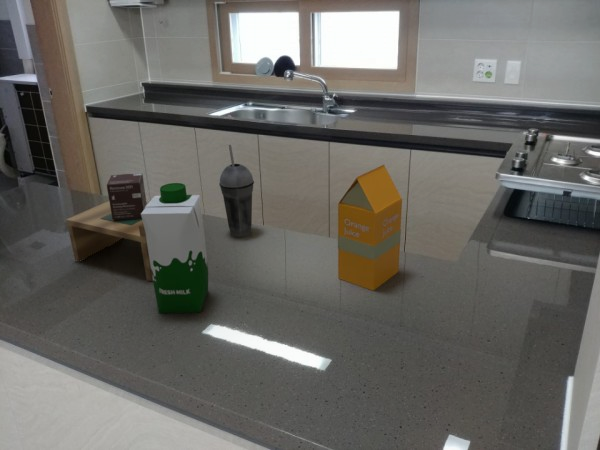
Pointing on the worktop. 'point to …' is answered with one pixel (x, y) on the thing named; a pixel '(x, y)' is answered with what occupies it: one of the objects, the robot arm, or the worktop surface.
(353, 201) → the orange juice
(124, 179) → the box
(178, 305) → the milk carton
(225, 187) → the beverage cup
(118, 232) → the shelf
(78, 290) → the worktop surface
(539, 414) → the worktop surface
